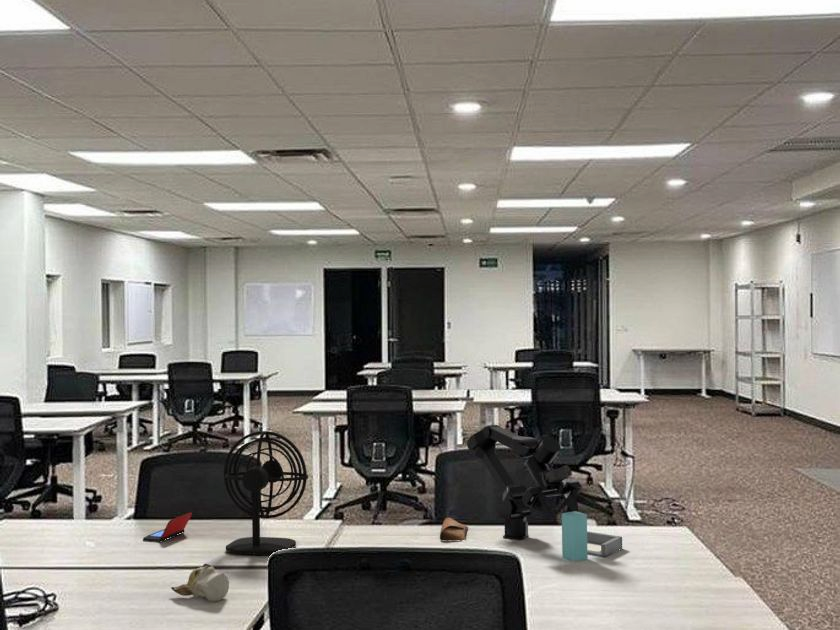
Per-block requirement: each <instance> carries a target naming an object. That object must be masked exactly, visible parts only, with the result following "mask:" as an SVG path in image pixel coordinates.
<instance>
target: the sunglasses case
mask: <svg viewBox="0 0 840 630" xmlns="http://www.w3.org/2000/svg"><path fill="white" fill-rule="evenodd" d="M467 528H469V527H468V525H466V524H463V523H460V522H458V521H456V520H455V519H453V518H451V517H445V519H444V520H443V522H442V525H441V528H440V533H439V540H440V541H441V540H465V539H466V540H467V538H466V535H467V530H468V529H467Z"/></svg>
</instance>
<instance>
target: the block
mask: <svg viewBox="0 0 840 630" xmlns="http://www.w3.org/2000/svg"><path fill="white" fill-rule="evenodd" d="M587 531H588V515H587V514H586V513H583V512H580V511H579V512H576V511H574V512H572V511H570V512H562V513H561V549H562V550H561V551H562V552H561V553H562V554H561V555H562V556H561V557H562V558H564V559H566V560H568V561H571V562H578V561H583V560H588V556H589V554H588V553H587Z"/></svg>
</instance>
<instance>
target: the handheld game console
mask: <svg viewBox="0 0 840 630" xmlns="http://www.w3.org/2000/svg"><path fill="white" fill-rule="evenodd" d="M192 514H193V512H187V513H185V514H182V515H180V516H177V517H174V518H172V519H170V520H169V521H168V522H167V524H166V525H165V528H164V529H161V530H159V531H156V532H153V533H150V534H148V535H146V536H144V537H143V538H142V540H143V541H144V540H147V541H146V542H152V541H164V540H165V539H167V538H170V537H172V536H175V535H177V534H179V533H182V532H184V533H185V528H186V527H187V524H188V523H189V521H190V518H191V517H192ZM175 537H176V536H175ZM172 538H173V537H172ZM170 539H171V538H170ZM164 542H165V541H164Z"/></svg>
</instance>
